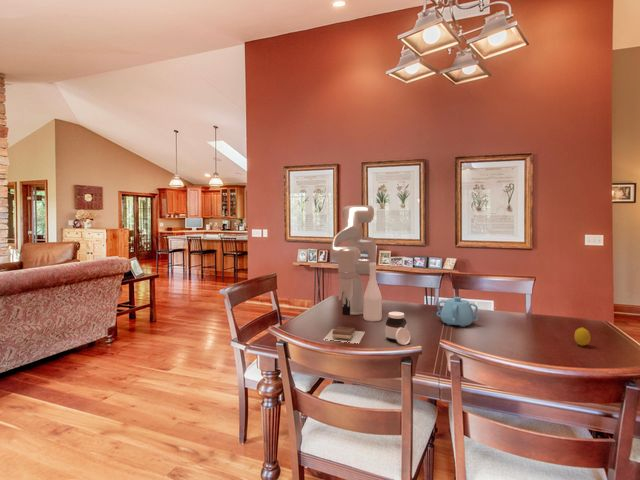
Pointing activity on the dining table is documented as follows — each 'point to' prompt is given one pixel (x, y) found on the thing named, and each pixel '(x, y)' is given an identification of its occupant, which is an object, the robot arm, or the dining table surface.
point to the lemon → (582, 336)
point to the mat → (354, 339)
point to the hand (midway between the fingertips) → (346, 314)
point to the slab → (343, 332)
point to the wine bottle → (372, 298)
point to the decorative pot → (457, 312)
